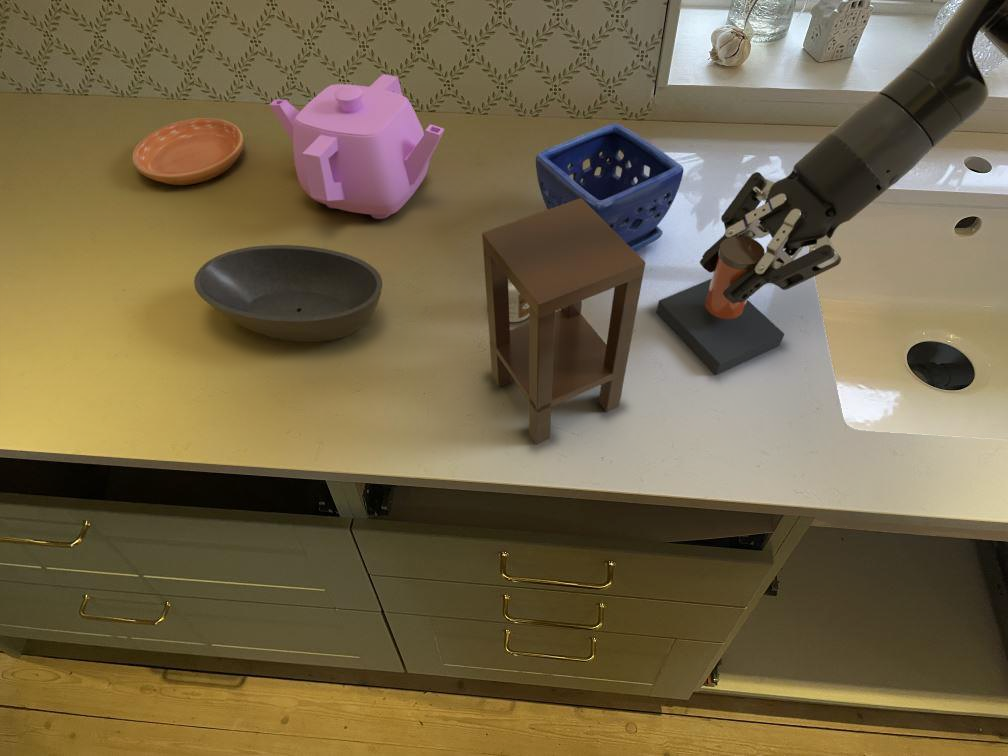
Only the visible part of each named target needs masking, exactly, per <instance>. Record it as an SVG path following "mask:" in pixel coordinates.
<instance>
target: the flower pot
mask: <svg viewBox="0 0 1008 756" xmlns="http://www.w3.org/2000/svg"><path fill="white" fill-rule="evenodd" d="M619 152H621V153H622V155H623V157H622V158H621V157H620V156H619ZM600 154H601V155H600ZM587 160H588V161H589V166H588V167H586V168H584V162H585V161H587ZM629 163H630V164H629ZM618 167H619V168H620V169H621V174H620V176H619V175H617V168H618ZM645 167H648V168H649V172H648V175H646V173H645ZM535 168H536V176H537V182H538V186H539V190H540V194H541V197H542V200H543V202H544V204H545V207H546V210H548V209H551V208H554V207H557V206H560V205H563V204H566V203H568V202H571V201H574V200H577V199H580V198H582V199H583V200H584V201H585V202H586V203H587V204H588V205H589V206H590V207H591V208H592V209H593V210H594V211H595V212H596V213H597V214H598V215H599V216H600V217H601V218H602V219H603V220H604V221H605V222H606V223H607V224H608V225H609V226H610V227H611V228H612V229H613V230H614V231H615V232H616V233H617V234H618V235H619V236H620V237H621V238H622V239H623V240H624V241H625V242H626V243H627V244H628V245H629V246H630V247H631V248H632V249H633V250H634V251H635V252H636V251H637V250H640V249H642V248H644V247H646V246H648V245H650V244H652V243H654V242H655V241H657V240H658V239H660V237H662V235H663V230H662V229H661V228H660V227H658V225H659V224H660V223H661V222H662V221H663V219H664V218H665V217H666V215H667V213H668V212H669V210H670V208H671V206H672V205H673V203H674V201H675V200H676V196H677V194H678V192H679V189H680V186H681V183H682V181H683V176H684V167H683V166H682V164H680V163H679V162H677V160H675V159H673V158H672V157H670V156H669V155H668V154H666V153H665V152H664V151H663V150H661V149H659V148H658V147H657V146H655V145H653V144H652V143H651V142H649V141H648V140H646V139H644V138H643V137H641V136H639V135H638V134H637V133H635V132H633V131H632V130H630V129H629V128H627V127H625V126H623V125H621V124H619V123H615V122H614V123H610V124H608V125H604V126H602V127H598V128H597V129H593V130H591V131H588V132H586V133H582V134H580V135H578V136H576V137H573V138H571V139H569V140H566V141H564V142H561V143H558V144H556V145H554V146H551V147H548V148H546V149H544V150H542V151H540V152H539V153H537V154H536V156H535ZM598 168H600V173H599V174H595V173H596V171H597V169H598ZM571 175H572V177H570V176H571ZM635 178H636V180H637V181H636V182H635Z"/></svg>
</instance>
